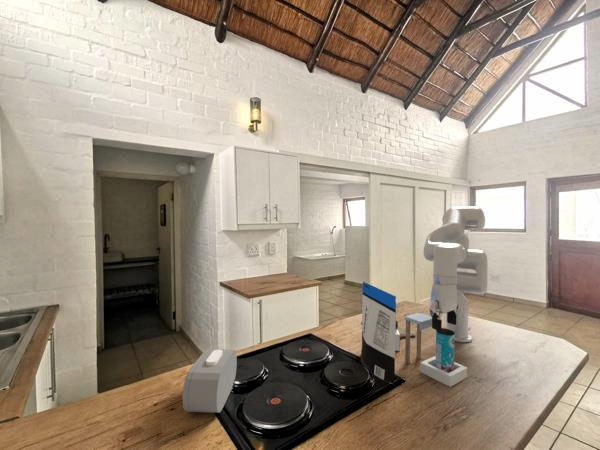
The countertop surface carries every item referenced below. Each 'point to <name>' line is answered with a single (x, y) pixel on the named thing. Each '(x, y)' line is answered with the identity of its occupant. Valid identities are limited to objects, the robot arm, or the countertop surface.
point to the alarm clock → (210, 381)
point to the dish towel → (403, 333)
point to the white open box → (430, 364)
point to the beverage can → (445, 350)
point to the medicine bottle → (397, 338)
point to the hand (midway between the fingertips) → (444, 326)
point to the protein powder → (378, 332)
